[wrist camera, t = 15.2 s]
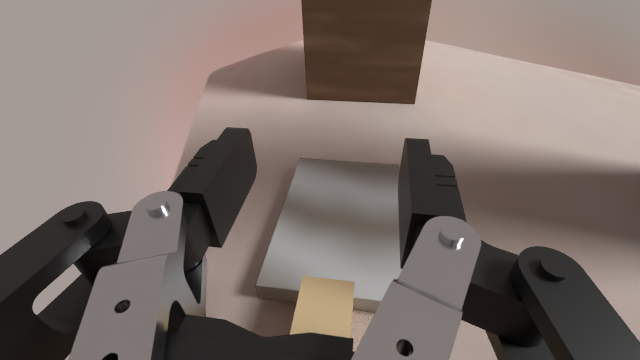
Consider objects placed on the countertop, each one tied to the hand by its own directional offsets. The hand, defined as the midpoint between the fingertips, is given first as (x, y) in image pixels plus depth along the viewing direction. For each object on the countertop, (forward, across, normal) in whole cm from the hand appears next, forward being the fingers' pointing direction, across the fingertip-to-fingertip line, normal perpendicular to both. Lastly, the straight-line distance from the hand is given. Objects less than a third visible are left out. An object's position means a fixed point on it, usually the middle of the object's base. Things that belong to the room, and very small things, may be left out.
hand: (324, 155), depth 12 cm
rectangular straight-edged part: (0, 0, +10) cm, 10 cm away
